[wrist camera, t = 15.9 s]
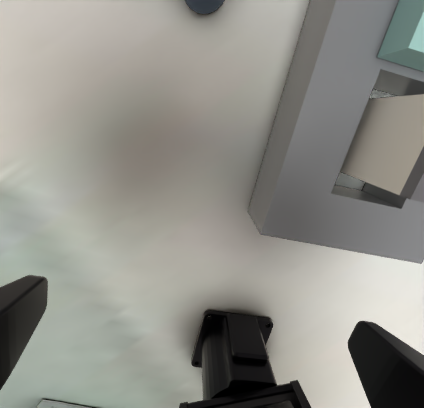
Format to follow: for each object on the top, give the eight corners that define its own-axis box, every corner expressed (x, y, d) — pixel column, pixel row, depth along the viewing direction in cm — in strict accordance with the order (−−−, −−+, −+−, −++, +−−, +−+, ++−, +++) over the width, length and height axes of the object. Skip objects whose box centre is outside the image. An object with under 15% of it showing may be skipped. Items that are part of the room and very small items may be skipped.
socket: (381, 237, 22) (421, 263, 18) (247, 211, 20) (260, 234, 16) (506, -15, 16) (603, -54, 12) (334, -82, 14) (385, -152, 10)
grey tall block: (384, 113, 18) (540, 114, 10) (359, 172, 19) (478, 215, 11) (339, 101, 18) (465, 90, 9) (317, 162, 19) (410, 199, 11)
